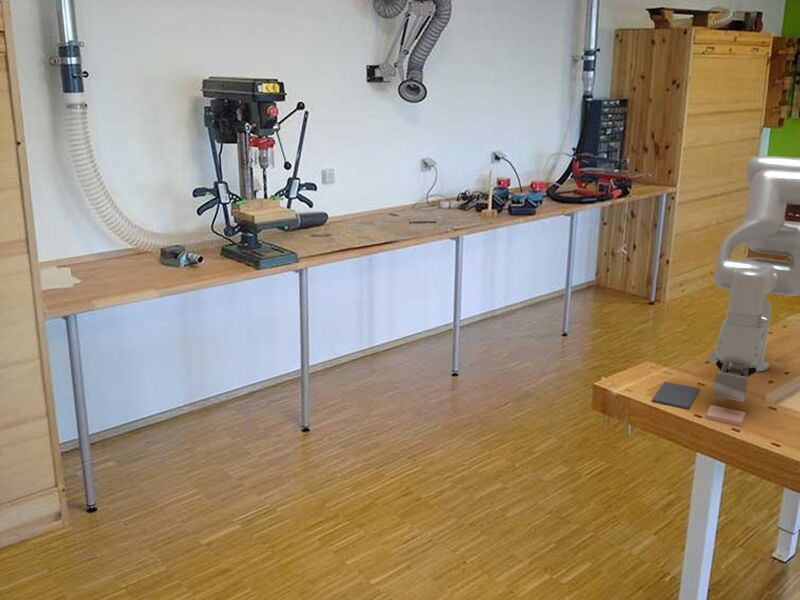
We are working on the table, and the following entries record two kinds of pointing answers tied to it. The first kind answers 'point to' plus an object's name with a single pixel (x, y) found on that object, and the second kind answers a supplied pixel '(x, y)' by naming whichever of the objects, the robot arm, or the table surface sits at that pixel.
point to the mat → (676, 395)
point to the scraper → (731, 384)
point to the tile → (725, 415)
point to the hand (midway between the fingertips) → (732, 388)
